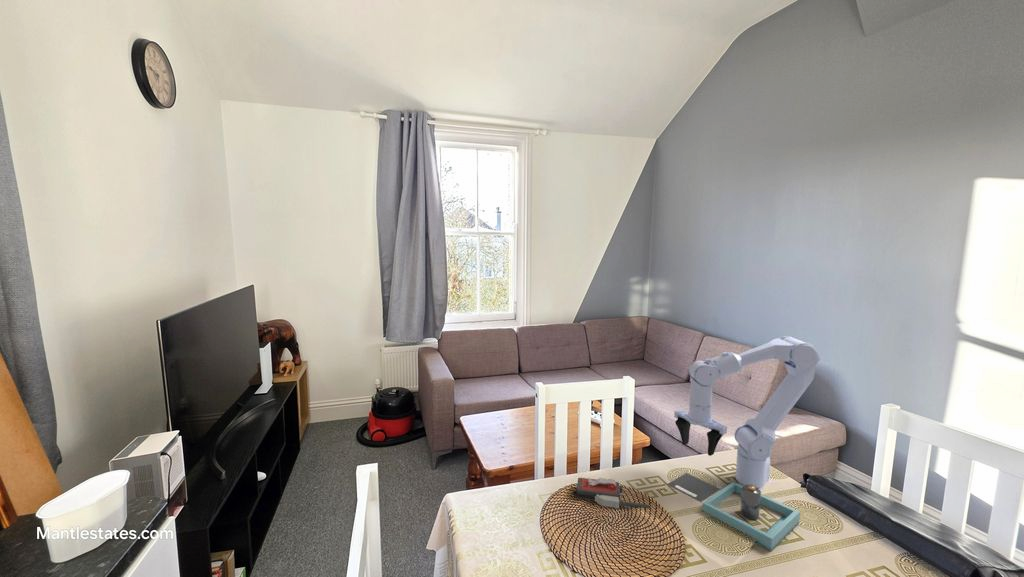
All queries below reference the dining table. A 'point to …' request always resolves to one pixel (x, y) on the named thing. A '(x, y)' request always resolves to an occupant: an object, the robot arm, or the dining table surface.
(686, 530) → the dining table surface
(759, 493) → the battery cell
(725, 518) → the rectangular frame
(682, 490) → the grey square pad
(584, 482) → the walkie-talkie
